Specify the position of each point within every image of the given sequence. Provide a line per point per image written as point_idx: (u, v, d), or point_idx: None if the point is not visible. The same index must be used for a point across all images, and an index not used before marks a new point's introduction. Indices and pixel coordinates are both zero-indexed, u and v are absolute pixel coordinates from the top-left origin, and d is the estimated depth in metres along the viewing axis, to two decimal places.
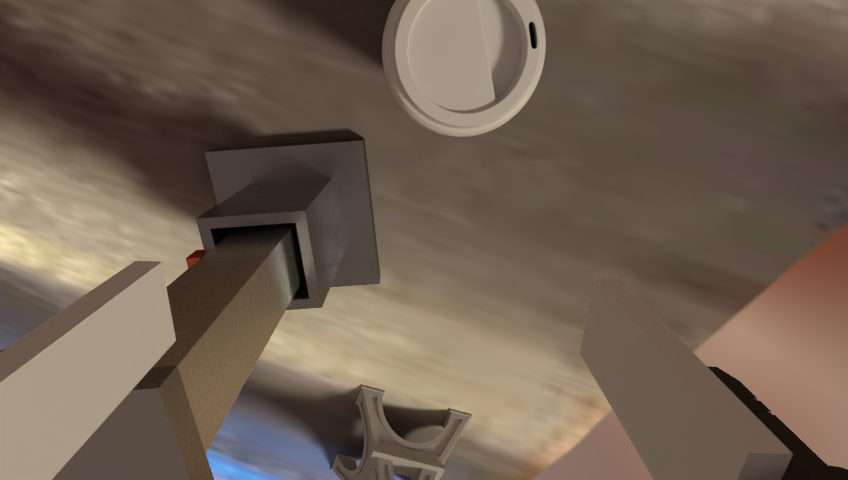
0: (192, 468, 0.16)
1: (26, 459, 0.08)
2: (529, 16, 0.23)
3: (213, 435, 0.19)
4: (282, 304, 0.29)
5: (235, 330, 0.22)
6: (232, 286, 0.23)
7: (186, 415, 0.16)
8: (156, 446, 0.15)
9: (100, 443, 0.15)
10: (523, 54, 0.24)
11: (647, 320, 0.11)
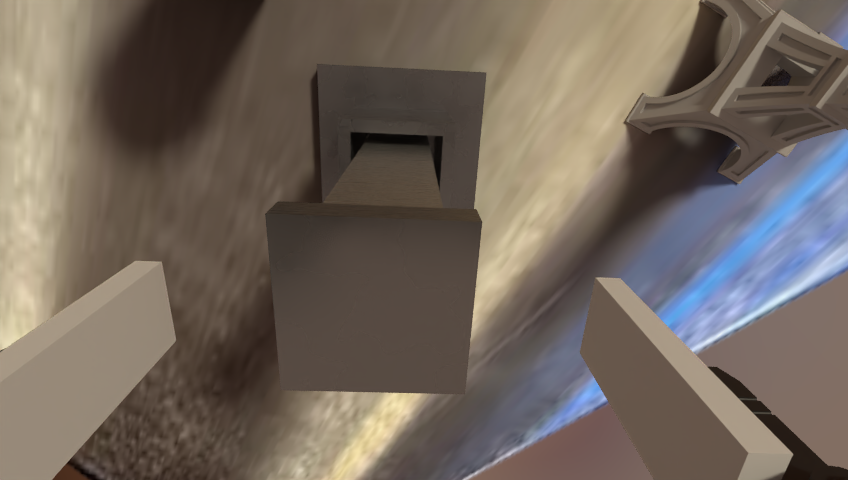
0: (404, 215, 0.12)
1: (26, 459, 0.08)
2: None
3: None
4: (421, 156, 0.26)
5: (371, 183, 0.19)
6: None
7: (339, 207, 0.13)
8: (354, 242, 0.12)
9: (344, 299, 0.13)
10: None
11: (647, 320, 0.11)
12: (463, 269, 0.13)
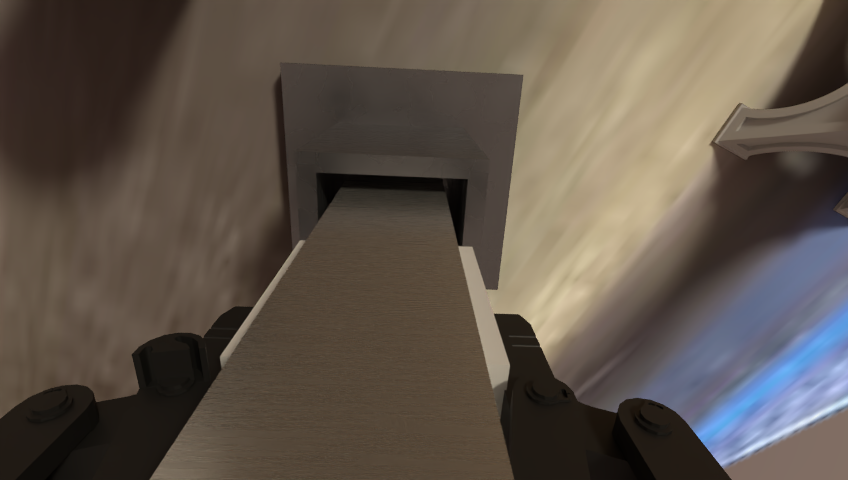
0: None
1: None
2: None
3: None
4: (434, 223, 0.15)
5: (324, 337, 0.08)
6: None
7: None
8: None
9: None
10: None
11: (469, 277, 0.13)
12: None
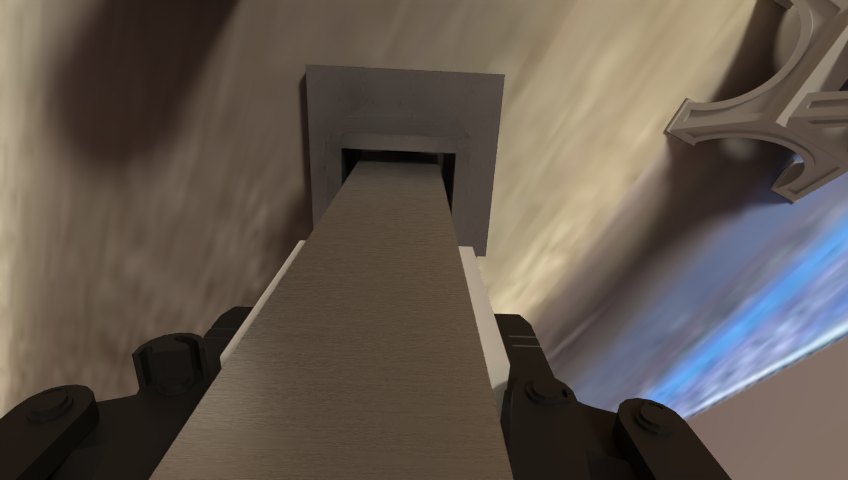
0: None
1: None
2: None
3: None
4: (434, 223, 0.15)
5: (325, 337, 0.08)
6: None
7: None
8: None
9: None
10: None
11: (469, 277, 0.13)
12: None
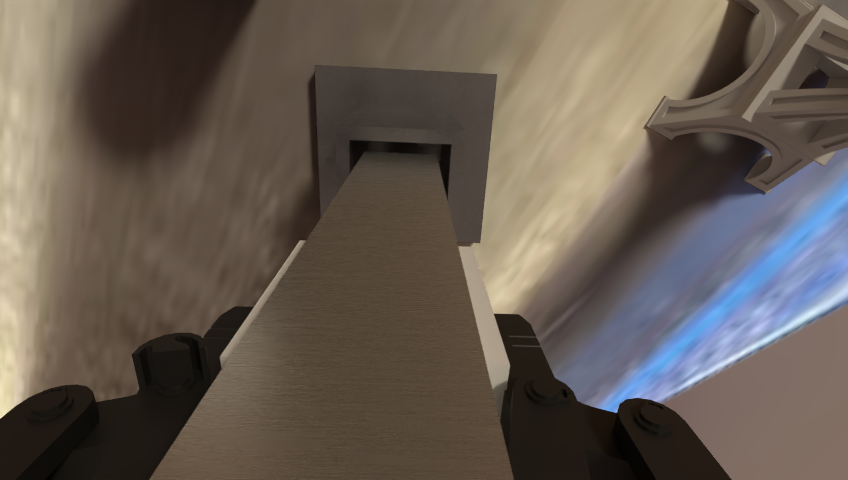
0: None
1: None
2: None
3: None
4: (434, 223, 0.15)
5: (324, 337, 0.08)
6: None
7: None
8: None
9: None
10: None
11: (469, 277, 0.13)
12: None
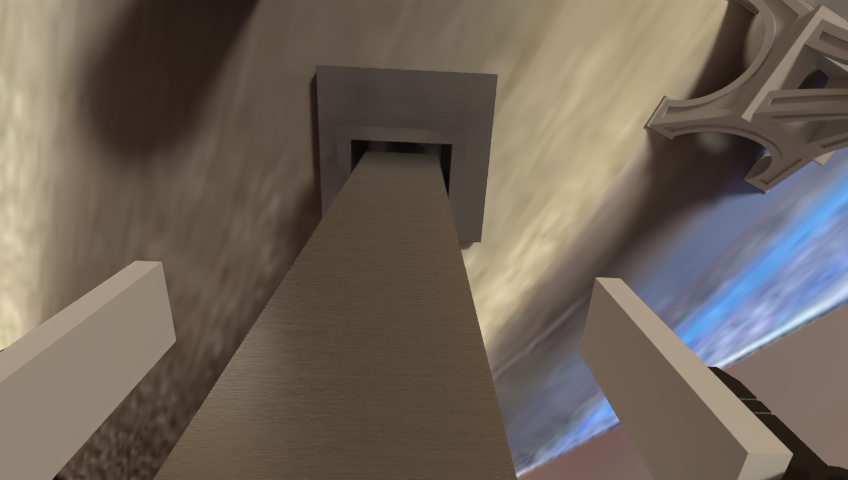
0: None
1: (26, 459, 0.08)
2: None
3: None
4: (435, 222, 0.15)
5: (329, 333, 0.08)
6: None
7: None
8: None
9: None
10: None
11: (647, 320, 0.11)
12: None
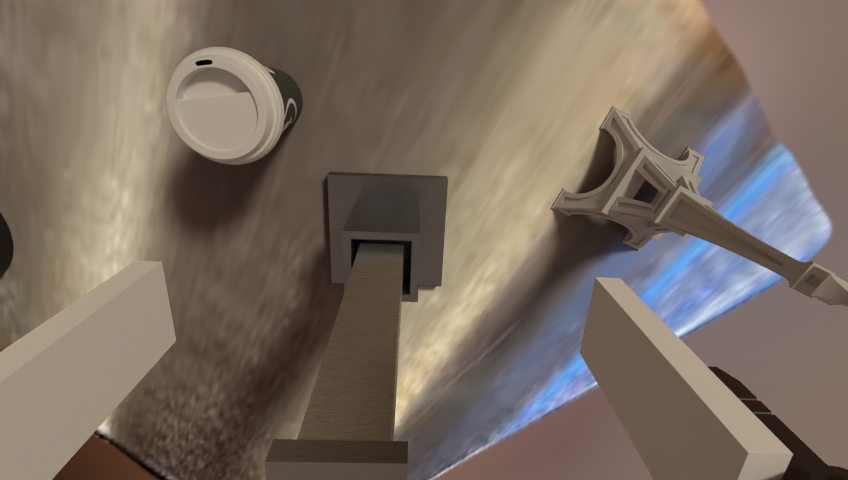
0: (356, 457, 0.19)
1: (26, 459, 0.08)
2: (191, 65, 0.34)
3: (389, 422, 0.22)
4: (390, 310, 0.32)
5: (345, 369, 0.25)
6: None
7: (314, 446, 0.19)
8: (323, 475, 0.19)
9: None
10: None
11: (647, 320, 0.11)
12: None
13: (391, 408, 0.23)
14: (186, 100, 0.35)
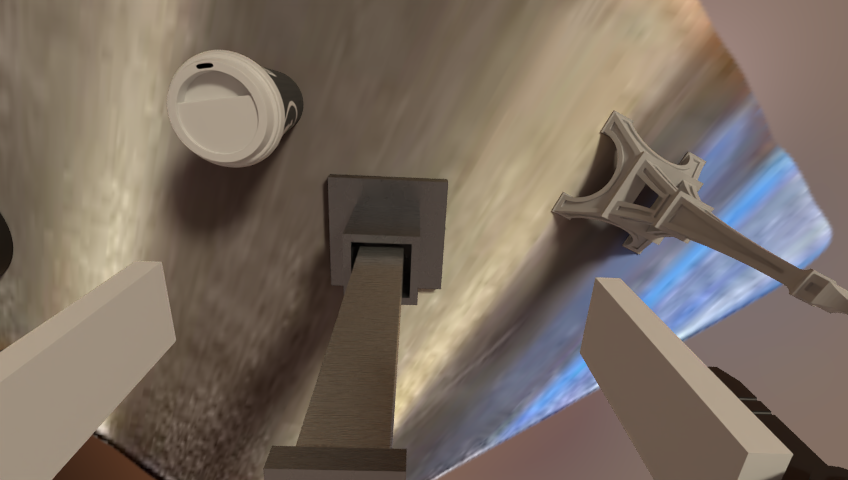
0: (355, 464, 0.19)
1: (26, 459, 0.08)
2: (192, 68, 0.34)
3: (388, 428, 0.22)
4: (390, 315, 0.32)
5: (344, 375, 0.25)
6: None
7: (313, 453, 0.19)
8: None
9: None
10: None
11: (647, 320, 0.11)
12: None
13: (390, 414, 0.23)
14: (187, 103, 0.35)
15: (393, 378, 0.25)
